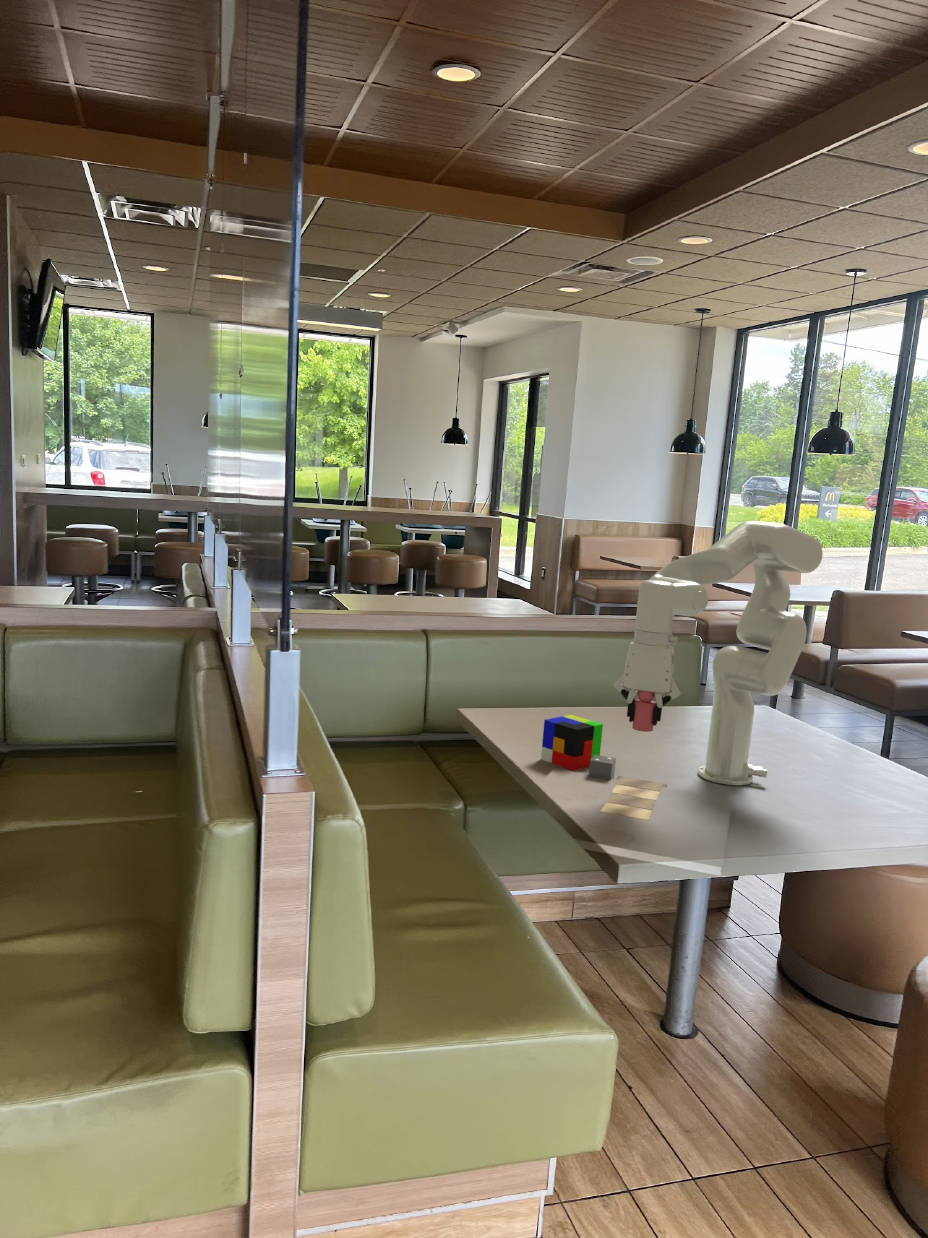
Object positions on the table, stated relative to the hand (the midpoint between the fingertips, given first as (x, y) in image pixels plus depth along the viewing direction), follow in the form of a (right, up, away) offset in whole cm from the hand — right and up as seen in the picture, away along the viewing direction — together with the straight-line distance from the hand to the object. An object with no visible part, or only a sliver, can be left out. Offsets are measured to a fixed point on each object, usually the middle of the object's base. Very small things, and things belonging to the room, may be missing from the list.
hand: (643, 721), depth 196 cm
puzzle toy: (-13, -13, +26) cm, 31 cm away
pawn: (0, -2, 0) cm, 2 cm away
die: (-7, -15, +13) cm, 21 cm away
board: (-2, -17, 0) cm, 17 cm away
